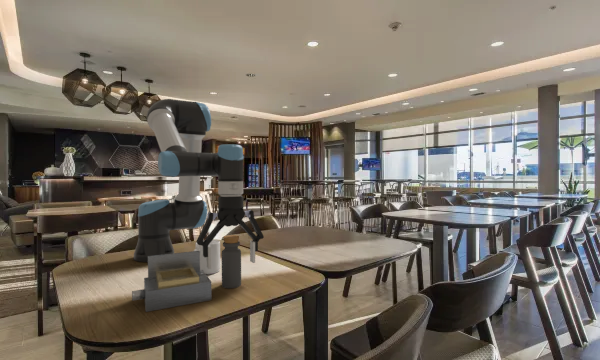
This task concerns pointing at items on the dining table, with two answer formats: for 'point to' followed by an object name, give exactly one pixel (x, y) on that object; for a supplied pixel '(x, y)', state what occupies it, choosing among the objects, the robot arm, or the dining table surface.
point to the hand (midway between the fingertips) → (231, 264)
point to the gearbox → (174, 281)
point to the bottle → (231, 262)
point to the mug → (214, 257)
